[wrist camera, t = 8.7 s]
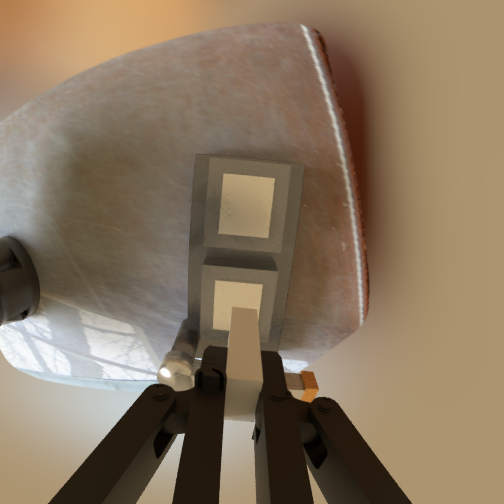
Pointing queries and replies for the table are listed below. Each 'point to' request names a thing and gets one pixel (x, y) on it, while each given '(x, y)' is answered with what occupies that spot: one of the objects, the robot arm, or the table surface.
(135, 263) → the table surface
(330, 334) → the table surface
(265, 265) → the grey stepped block base
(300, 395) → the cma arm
